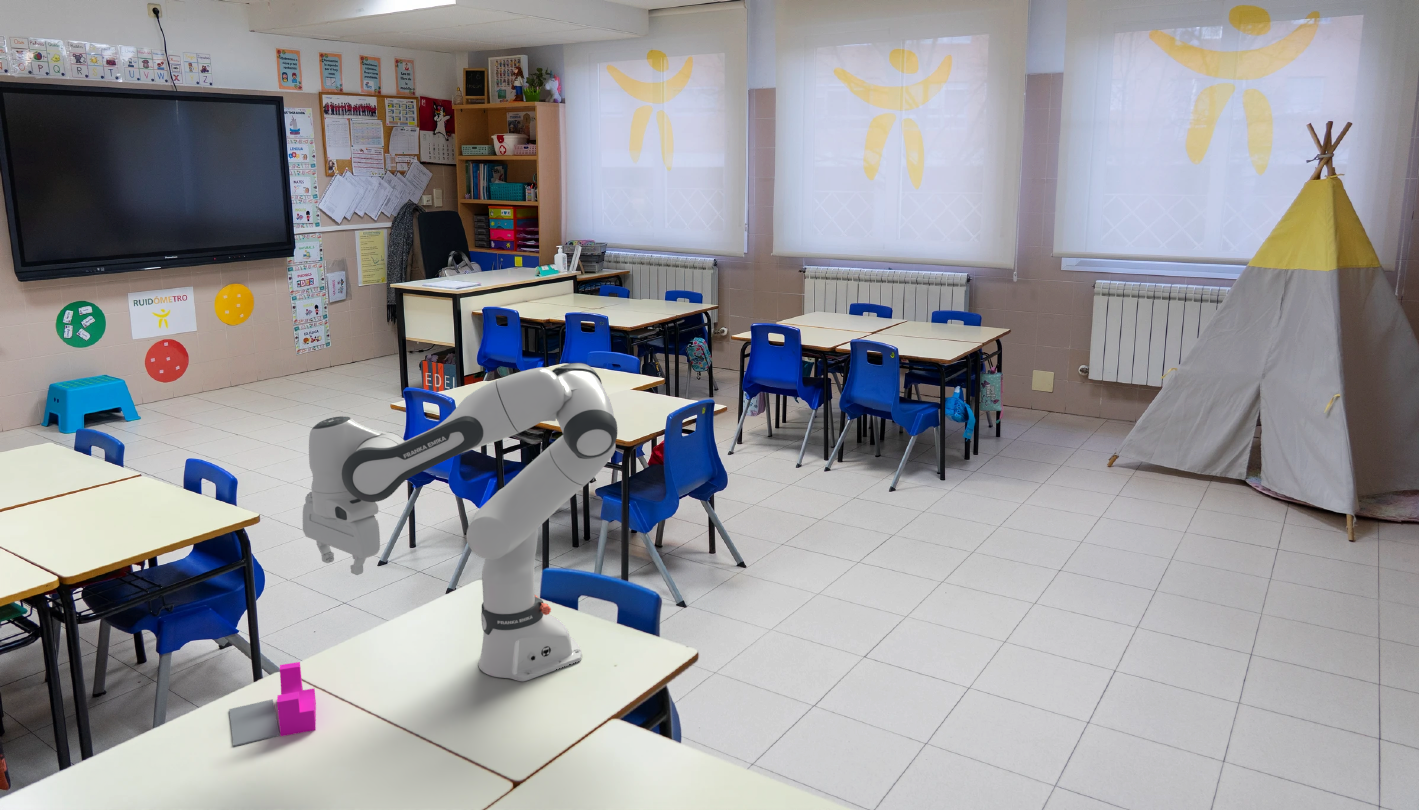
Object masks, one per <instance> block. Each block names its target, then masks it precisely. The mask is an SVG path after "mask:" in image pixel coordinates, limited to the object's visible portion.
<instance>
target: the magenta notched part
mask: <svg viewBox="0 0 1419 810" xmlns="http://www.w3.org/2000/svg"><path fill="white" fill-rule="evenodd" d="M301 667H302V666H301V662H300V661H297V662H290V663H283V664H280V665H279V676H280V678H279V679H280V694H277V697H276V704H277V716H278V727H279V734H280V737H284V736H290V735H297V734H301V733H306V732H312V731H316V729H317V725H316V724H317V723H316V722H317V719H316V718H317V717H316V716H317V712H316V711H317V701H316V691H315V688H314V687H313V688H309V689H303V682H302V681H303V678H302V670H301Z"/></svg>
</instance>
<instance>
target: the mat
mask: <svg viewBox="0 0 1419 810" xmlns="http://www.w3.org/2000/svg"><path fill="white" fill-rule="evenodd" d="M228 710H229V717H230V718H229V719H230V720H229V721H230V726H231V735H232V743H233V744H232V745H233V748H234V747H239V746H243V745H246V744H250V743H254V742H258V741H259V742H260V741H262V740H267V739H272V738H276V737H279V736H280V737H281V735H280V728H279V723H278V720H277V715H276V710H275V704H274V699H269V700H264V701H258V702H255V703H250V704H246V705H242V706H237V707H233V708H229V709H228Z"/></svg>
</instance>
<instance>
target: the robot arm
mask: <svg viewBox="0 0 1419 810" xmlns="http://www.w3.org/2000/svg"><path fill="white" fill-rule="evenodd" d="M602 383H603V382H602V380H601V378H600V376H599V375H598V373H597V371H596V370H594V368H592V367H591V366H590V365H588V364H586V363H582V362H575V363H568V364H564V365H562V366H558V367H555V368H554V369H552V370H551V369H550V368H547V367H542V366H541V367H536V368H535V367H534V368H530V369H527V370H521V371H519V372H516V373H512V374H509V375H506V376H504V377H501V378H498V379H496V380H493V381H491V382H489V383H487V384H485V385H482V386H481V387H479V388H477V389H476V390H474V391H473V392H471V393H470V394H468V395H467V396H466V397H465V398H464V399H463V400H462V401H460V403H459V404H458V405H457V407H456V408H455V409H454V410H453V411H452V412H451V414H449V415H448V416H447V417H446V419H444V420H443V421H442V422H440V423H438V425H436V426H435V427H433V428H431V429H429V430H427V431H424V432H422V433H420V434H418V435H415V436H413V437H411V438H409V439H407V440H405V439H404V438H403V437H402V436H400V435H399V434H397V433H394V432H391V431H383V430H379V429H374V428H371V427H368V426H365V425H363V424H361V423H359V422H357V421H356V420H354V419H353V418H352V417H350V416H343V415H342V416H335V417H334V416H332V417H330V418H326V419H324V420H321V421H320V422H317V424H316V423H315V425H314V426H313V427H312V429H311V430H310V432H309V436H308V461H309V463H308V464H309V469H310V471H311V474H312V482H311V491H310V492H309V493H308V494H306V496H305V503H304V504H303V507H302V531H303V534H304V536H305V537H306V538H309V539H311V540H314V541H316V546H317V548H318V550H319V552H320V554H321V556H320V557H321V561H322V562H323V563H326V564H330V563H333V562H334V561H335V553H334V552H333V551H332V549H331V547H332V548H335V549H338V550H339V551H342V552H345V553H346V554H347V553H348V555H352V559H353V560H354V561H353V564H351V565H350V573H351V574H353V575H355V576H359V575H361V574H363V573H364V564H365V561H366V559H367V558H371V557H373V556H376V555H377V554H378V553H379V551H380V549H381V535H380V534H381V533H380V525H379V521H378V519H377V516H375V515H378V513H379V505H378V503H377V502H382V501H383V500H386V499H387V498H389V497H390V496H392V495H393V494H394V493H395V492H396V491H397V490H398V489H399V487H400V486H401V485H402V484H403V483H404V482H405V481H407V480H409V479H410V478H411V477H414V476H416V475H418V474H419V473H422V472H424V471H427V470H428V469H430V468H433V467H434V466H436V465H440V464H441V463H443V462H446V461H447V460H449V459H452V458H453V457H456V456H459V455H461V454H463V453H466V452H469V451H471V450H475V449H477V448H480V447H483V446H486V445H489V444H492V443H495V442H498V441H501V440H504V439H508V438H510V437H512V436H514V435H517V434H520V433H522V432H524V431H526V430H528V429H531V428H533V427H534V426H536V425H539V424H540V423H542V422H556V421H557V423H558V425H559V427H560V430H561V432H562V435H561V436H559V437H558V438H557V439H556V440H555V441H553V442H552V443H551V444H550V445H549V446H548V447H547V448H545V450H543V451H541V453H540V454H538V456H536V457H535V458H534V459H533V460H532V461H531V462H530V463H529V464H527V465H526V466H525V467H524V468H523V469H522V470H521V471H519V473H518V474H517V475H516V476H515V477H513V478H512V479H511V480H510V481H509V482H508V483H506V485H504V487H502V488H501V489H499V490H497V491H496V493H495V494H494V495H492V497H491V498H490V499H488V500H487V501H486V502H485V503H484V504H483V505H482V506H481V507H480V508H479V509H477V511H476V512H475V513H474V515H473V516H472V518H471V520H470V523H469V525H468V527H467V529H466V534H465V535H466V541H467V545H468V547H469V548H470V549H471V551H472V552H473V553H474V554H475V555H476V556H478V557H480V558H482V559H484V561H483V562H484V563H483V565H482V570H481V582H482V584H481V585H482V600H483V602H482V604H481V612H480V614H481V615H480V616H481V617H480V618H481V619H480V621H481V627H482V630H483V635H482V644H481V652H480V657H479V660H478V667H479V670H481V672H483V673H484V674H485V675H486V674H487V675H488V676H492V677H495V678H505V679H512V680H515V681H518V682H527V681H529V680H533V679H534V678H538V677H540V676H544V675H546V674H549V673H551V672H554V671H556V669H557V670H559V668H560V669H563V668H565V667H569V666H570V665H569V664H571V665H573V663H574V664H575V662H576V663H578V661H579V662H581V660H582V658H583V654H582V649H581V646H580V645H579V643H578V642H577V641H576V640H575V639H574V638H573V637H572V636H570V632H569V631H568V628H567V627H566V625H565V624H564V623H563V622H562V621H561V620H560V619H558V618H557V617H555V616H553V615H551V614H550V613H551V612H552V611H551V610H552V608H551V607H550V606H549V604H548V603H546V602H544V600H543V599H542V598H539V597H538V596H537V595H536V591H535V590H536V589H535V588H536V587H535V563H536V554H537V547H538V539H539V527H541V525H542V524H544V523H545V522H546V521H547V520H548V519H549V518H550V517H552V515H554V514H555V513H556V512H557V511H558V510H559V509H560V508H561V507H562V506H564V504H565V503H567V501H569V500H570V499H571V498H572V497H573V496H574V495H576V493H578V492H579V491H581V489H583V488H584V487H585V486H586V485H587V484H588V483H589V482H590V481H592V480H593V479H594V478H595V477H596V476H597V475H598V474H599V473H600V472H601V470H603V468H604V467H605V466H606V465H607V463H608V462H609V461H610V459H611V458H612V457H613V456H614V453H615V451H616V442H617V439H618V424H617V420H616V417H615V415H614V409H613V406H612V402H611V399H610V397H609V396H608V393H607V392H606V389H605V388H604V386H603V384H602ZM581 657H582V658H581ZM564 666H565V667H564ZM562 667H563V668H562Z"/></svg>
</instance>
